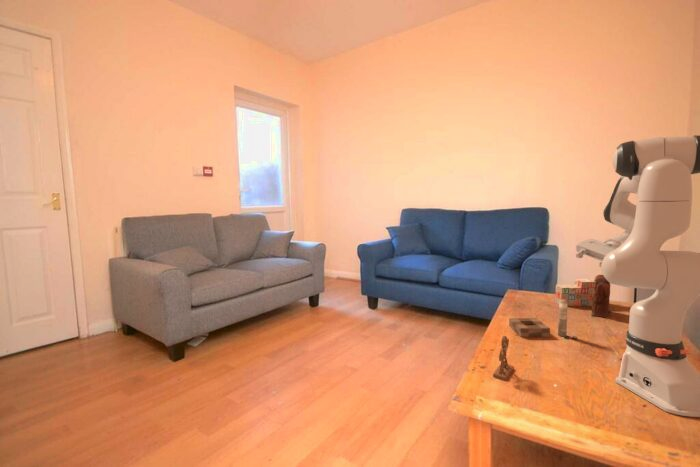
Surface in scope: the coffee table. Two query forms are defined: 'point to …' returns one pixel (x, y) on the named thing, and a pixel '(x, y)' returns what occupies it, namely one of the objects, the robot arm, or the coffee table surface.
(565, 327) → the wooden dowel
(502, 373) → the brown ring sculpture
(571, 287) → the stack of blocks
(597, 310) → the wooden figurine
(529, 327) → the square hole block
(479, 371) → the coffee table surface
